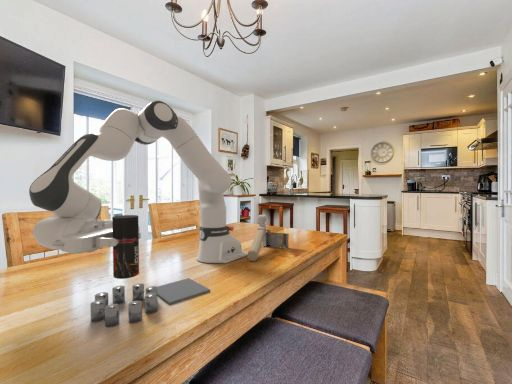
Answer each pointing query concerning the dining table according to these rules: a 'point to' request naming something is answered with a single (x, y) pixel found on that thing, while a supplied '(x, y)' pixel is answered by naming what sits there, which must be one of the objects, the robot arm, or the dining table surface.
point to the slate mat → (180, 290)
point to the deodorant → (126, 246)
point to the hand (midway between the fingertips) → (128, 239)
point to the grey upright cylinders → (111, 312)
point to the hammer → (258, 239)
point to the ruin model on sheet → (277, 239)
